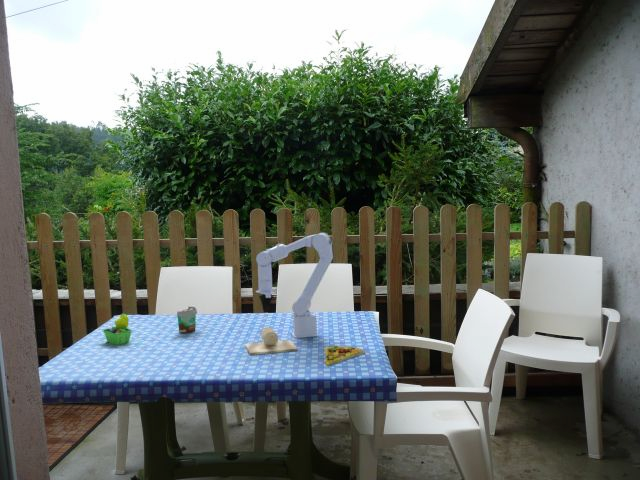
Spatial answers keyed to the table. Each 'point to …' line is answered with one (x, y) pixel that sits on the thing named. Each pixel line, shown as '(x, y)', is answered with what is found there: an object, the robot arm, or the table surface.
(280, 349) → the board
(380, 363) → the table surface
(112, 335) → the green potted plant
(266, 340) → the candle
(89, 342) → the table surface
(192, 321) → the food container
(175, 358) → the table surface
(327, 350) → the pizza slice
